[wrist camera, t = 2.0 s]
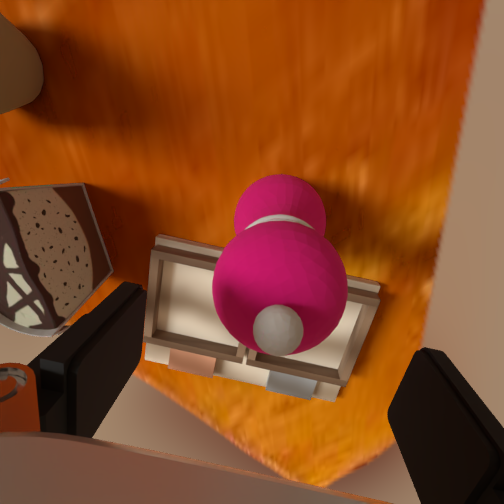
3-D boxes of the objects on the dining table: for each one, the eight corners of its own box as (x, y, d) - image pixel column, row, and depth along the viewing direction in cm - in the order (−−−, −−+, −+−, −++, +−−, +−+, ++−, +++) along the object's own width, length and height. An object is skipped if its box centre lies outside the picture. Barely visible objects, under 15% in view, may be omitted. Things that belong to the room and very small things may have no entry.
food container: (20, 176, 30) (-99, 195, 21) (78, 166, 29) (-18, 181, 20) (66, 289, 34) (-15, 348, 25) (118, 284, 33) (54, 342, 24)
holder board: (159, 233, 31) (149, 241, 28) (377, 281, 30) (385, 293, 28) (148, 353, 36) (139, 368, 34) (333, 395, 36) (336, 413, 34)
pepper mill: (330, 229, 29) (418, 399, 10) (259, 256, 31) (225, 445, 12) (302, 155, 27) (352, 201, 8) (228, 188, 28) (129, 289, 10)
